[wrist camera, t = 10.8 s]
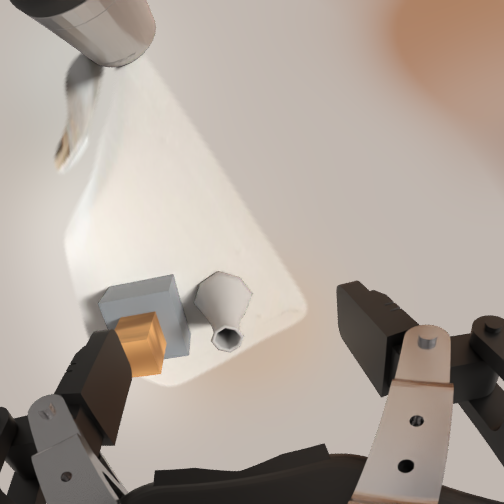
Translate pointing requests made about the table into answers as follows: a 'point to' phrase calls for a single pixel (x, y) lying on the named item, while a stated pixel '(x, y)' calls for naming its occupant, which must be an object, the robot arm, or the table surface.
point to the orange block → (142, 343)
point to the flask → (224, 308)
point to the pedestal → (150, 309)
